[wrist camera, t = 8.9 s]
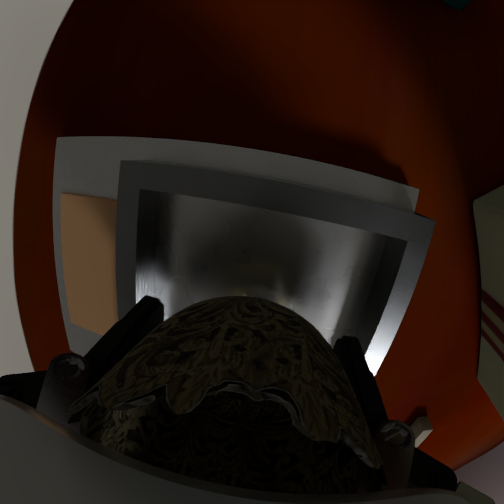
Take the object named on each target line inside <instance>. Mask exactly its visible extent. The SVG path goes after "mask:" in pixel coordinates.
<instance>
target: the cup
mask: <svg viewBox="0 0 504 504" xmlns="http://www.w3.org/2000/svg"><path fill="white" fill-rule="evenodd" d="M87 393H88V394H87ZM86 394H87V395H86ZM85 395H86V396H85ZM83 396H85V397H84V398H83V399H82V400H81V401H80V402H79V403H78V404H76V405H74V404H75V403H76V402H77V401H78V400H80V399H81V398H82V397H83ZM83 396H82V397H80V398H79V399H78V400H76V401H75V402H74V403H73V404H72V405H71V406H70V408H69V410H68V414H69V415H71V416H70V417H69V419H68V421H67V423H68V424H69V423H72V422H74V421H75V420H76V419H77V418H79V417H81V416H82V415H83V416H85V417H86V418H88V420H87V433H86V437H87V438H89V439H91V440H93V441H95V442H97V443H99V444H101V445H103V446H105V447H107V448H109V449H112V450H114V451H116V452H119V453H121V454H123V455H126V456H128V457H131V458H133V459H136V460H138V461H141V462H144V463H147V464H149V465H152V466H155V467H158V468H161V469H164V470H167V471H171V472H174V473H177V474H181V475H184V476H188V477H192V478H195V479H199V480H204V481H208V482H212V483H217V484H222V485H227V486H233V487H238V488H245V489H252V490H259V491H268V492H278V493H291V494H331V493H332V492H333V491H334V489H335V488H336V492H337V494H349V492H350V490H351V487H352V485H353V483H354V480H355V478H356V475H357V472H358V470H359V467H360V464H361V462H362V461H363V462H364V463H366V464H367V465H368V466H369V467H370V469H371V472H372V474H373V475H374V477H375V478H376V479H377V480H378V477H377V475H376V472H375V470H374V469H379V472H380V474H381V476H382V478H383V482H382V483H380V482H379V483H380V485H381V487H382V488H383V489H384V490H386V489H387V480H386V476H385V472H384V469H383V466H382V464H383V461H382V459H381V457H380V455H379V453H378V450H377V448H376V445H375V442H374V440H373V437H372V434H371V432H370V429H369V427H368V424H367V421H366V419H365V416H364V414H363V412H362V409H361V407H360V404H359V402H358V400H357V397H356V395H355V393H354V390H353V388H352V386H351V383H350V381H349V379H348V377H347V375H346V373H345V371H344V369H343V367H342V365H341V363H340V361H339V359H338V357H337V356H336V354H335V352H334V351H333V349H332V347H331V346H330V344H329V343H328V342H327V341H326V339H325V338H324V337H323V335H322V334H321V333H320V332H319V331H318V330H317V329H316V328H315V327H314V326H313V325H312V324H311V323H310V322H309V321H307V320H306V319H305V318H303V317H302V316H300V315H299V314H297V313H296V312H294V311H292V310H291V309H289V308H287V307H285V306H283V305H280V304H277V303H275V302H272V301H269V300H265V299H261V298H255V297H249V296H225V297H217V298H212V299H208V300H204V301H200V302H198V303H195V304H192V305H190V306H188V307H186V308H184V309H182V310H181V311H179V312H177V313H175V314H174V315H172V316H171V317H169V318H168V319H166V320H165V321H164V322H162V323H161V324H160V325H158V326H157V327H156V328H155V329H154V330H152V331H151V332H150V333H149V334H148V335H147V336H146V337H144V338H143V339H142V340H141V341H140V342H139V343H138V344H137V345H136V346H135V347H134V348H133V349H132V350H130V351H129V352H128V353H127V354H126V355H125V356H124V357H123V358H122V359H121V360H120V361H119V362H118V363H117V364H116V365H115V366H114V367H113V368H112V369H110V370H109V371H108V372H107V373H106V374H105V375H104V376H103V377H102V378H101V379H100V380H99V381H98V382H97V383H96V384H95V385H94V386H93V387H92V388H91V389H90V390H89V391H87V392H86V393H85V394H84V395H83ZM86 406H88V407H87V408H86V409H85V410H84V408H85V407H86ZM83 410H84V411H83ZM339 440H341V441H342V442H343V444H345V445H346V446H347V447H350V448H351V449H352V450H353V451H354V455H353V458H352V459H351V460H350V462H349V463H348V464H347V465H346V466H345V467H343V468H342V469H340V470H338V471H337V465H338V458H339V455H340V452H341V449H342V445H343V444H342V445H341V446H340V447H339V449H338V450H337V451H335V452H334V453H333V454H332V455H331V456H329V457H328V458H327V459H325V460H324V456H325V445H326V441H330V442H333V443H338V441H339ZM378 481H379V480H378Z"/></svg>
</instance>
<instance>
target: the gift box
mask: <svg viewBox="0 0 504 504" xmlns="http://www.w3.org/2000/svg"><path fill="white" fill-rule="evenodd" d="M473 212H474V219H475V226H476V233H477V240H478V249H479V258H480V270H481V344H480V357H479V367H478V375H477V379H478V381H479V382H480V384H481V385H482V387H483V388H484V390H485V392H486V393H487V395H488V396H489V398H490V399H491V401H492V403H493V404H494V406H495V407H496V409H497V411H498V412H499V414H500V416H501V418H502V419H503V421H504V185H502V186H500V187H498V188H496V189H494V190H492V191H490V192H488V193H487V194H485V195H483V196H481V197H479V198H477V199H475V200H474V202H473Z"/></svg>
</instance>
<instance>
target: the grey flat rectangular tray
mask: <svg viewBox="0 0 504 504" xmlns="http://www.w3.org/2000/svg"><path fill="white" fill-rule="evenodd" d="M418 193H419V189H416V188H413V187H410V186H407V185H404V184H400V183H397V182H394V181H391V180H387V179H384V178H381V177H377V176H374V175H370V174H367V173H363V172H359V171H355V170H352V169H348V168H344V167H340V166H336V165H331V164H327V163H323V162H318V161H314V160H309V159H305V158H300V157H295V156H290V155H285V154H279V153H274V152H268V151H262V150H256V149H250V148H243V147H237V146H229V145H222V144H214V143H205V142H196V141H186V140H174V139H161V138H144V137H116V136H80V137H57V143H56V152H55V164H54V179H53V236H54V252H55V263H56V273H57V281H58V289H59V296H60V302H61V308H62V313H63V319H64V324H65V329H66V333H67V338H68V342H69V346H70V350H71V351H73V352H75V353H77V354H79V355H81V356H83V357H84V356H85V355H86V354H87V353H88V351H89V350H90V349H91V348H92V347H93V346H94V345H95V344H96V343H97V342H98V341H99V340H100V339H101V338H102V337H103V336H104V334H105V333H106V332H107V331H108V330H109V329H110V328H111V327H112V326H113V325H114V324H115V323H116V322H118V321H120V320H121V319H122V318H123V317H124V316H125V315H126V314H127V313H128V312H129V311H130V310H131V309H132V308H133V307H134V306H135V305H136V304H137V303H138V302H139V301H140V300H141V299H142V298H143V297H144V296H145V295H148V296H152V297H156V298H159V299H160V302H161V303H163V304H164V321H165V320H166V319H168V318H169V317H171V316H172V315H174V314H175V313H177V312H179V311H181V310H182V309H184V308H186V307H188V306H190V305H192V304H195V303H198V302H200V301H204V300H208V299H212V298H217V297H225V296H249V297H255V298H261V299H265V300H269V301H272V302H275V303H277V304H280V305H283V306H285V307H287V308H289V309H291V310H292V311H294V312H296V313H297V314H299V315H300V316H302V317H303V318H305V319H306V320H307V321H309V322H310V323H311V324H312V325H313V326H314V327H315V328H316V329H317V330H318V331H319V332H320V333H321V334H322V335H323V337H324V338H325V339H326V341H327V342H328V343H329V344H330V346H331V347H332V349H333V347H334V345H335V342H336V340H337V339H338V338H339V339H341V338H342V336H344V335H345V336H352V337H357V338H358V339H359V342H360V345H361V347H362V350H363V353H364V356H365V359H366V362H367V364H368V367H369V370H370V371H371V372H372V373H373V375H374V376H375V374H376V373H377V371H378V369H379V367H380V365H381V363H382V361H383V359H384V357H385V355H386V353H387V351H388V349H389V347H390V345H391V343H392V341H393V339H394V337H395V334H396V332H397V330H398V328H399V325H400V323H401V321H402V319H403V316H404V314H405V311H406V309H407V307H408V304H409V302H410V299H411V297H412V294H413V291H414V289H415V286H416V283H417V280H418V278H419V275H420V272H421V269H422V266H423V263H424V260H425V257H426V254H427V250H428V247H429V244H430V240H431V237H432V233H433V230H434V226H435V222H436V221H435V220H432V219H430V218H428V217H426V216H423V215H421V214H419V213H416V212H414V211H415V207H416V202H417V198H418Z"/></svg>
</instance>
